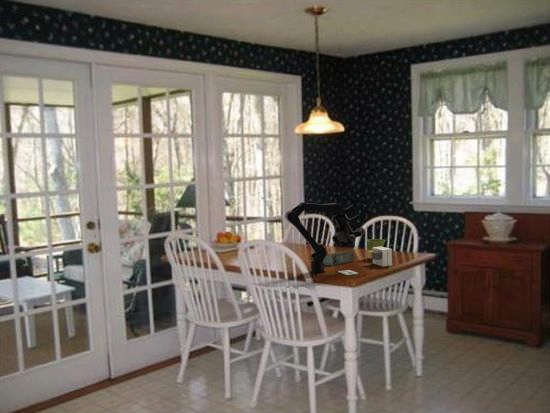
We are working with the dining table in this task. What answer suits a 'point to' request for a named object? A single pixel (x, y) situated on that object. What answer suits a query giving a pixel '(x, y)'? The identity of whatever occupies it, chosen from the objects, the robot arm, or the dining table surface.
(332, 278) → the dining table surface
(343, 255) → the beverage carton
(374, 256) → the charcoal button
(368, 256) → the amber button
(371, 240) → the plant pot
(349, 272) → the card
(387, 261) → the console
